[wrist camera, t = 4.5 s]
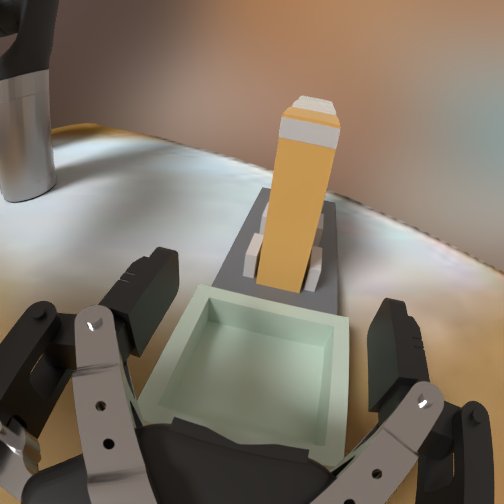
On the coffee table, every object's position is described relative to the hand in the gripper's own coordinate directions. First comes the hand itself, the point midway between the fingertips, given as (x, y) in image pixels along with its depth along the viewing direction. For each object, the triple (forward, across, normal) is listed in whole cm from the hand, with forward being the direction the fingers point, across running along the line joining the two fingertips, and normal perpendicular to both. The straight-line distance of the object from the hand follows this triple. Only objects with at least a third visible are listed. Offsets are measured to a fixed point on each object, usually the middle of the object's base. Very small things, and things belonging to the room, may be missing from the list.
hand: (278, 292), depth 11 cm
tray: (+1, 0, -9) cm, 9 cm away
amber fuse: (+10, 0, -7) cm, 12 cm away
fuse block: (+16, 0, -9) cm, 19 cm away
